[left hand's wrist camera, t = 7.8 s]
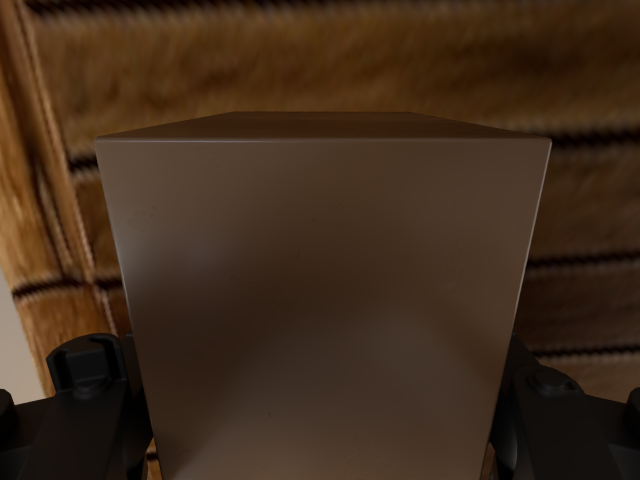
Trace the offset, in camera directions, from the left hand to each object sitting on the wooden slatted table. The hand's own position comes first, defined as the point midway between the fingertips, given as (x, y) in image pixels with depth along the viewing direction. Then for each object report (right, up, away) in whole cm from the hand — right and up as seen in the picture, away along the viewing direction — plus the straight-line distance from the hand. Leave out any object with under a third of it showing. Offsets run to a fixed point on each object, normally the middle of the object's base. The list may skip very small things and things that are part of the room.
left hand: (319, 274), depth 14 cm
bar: (0, -17, +7) cm, 19 cm away
